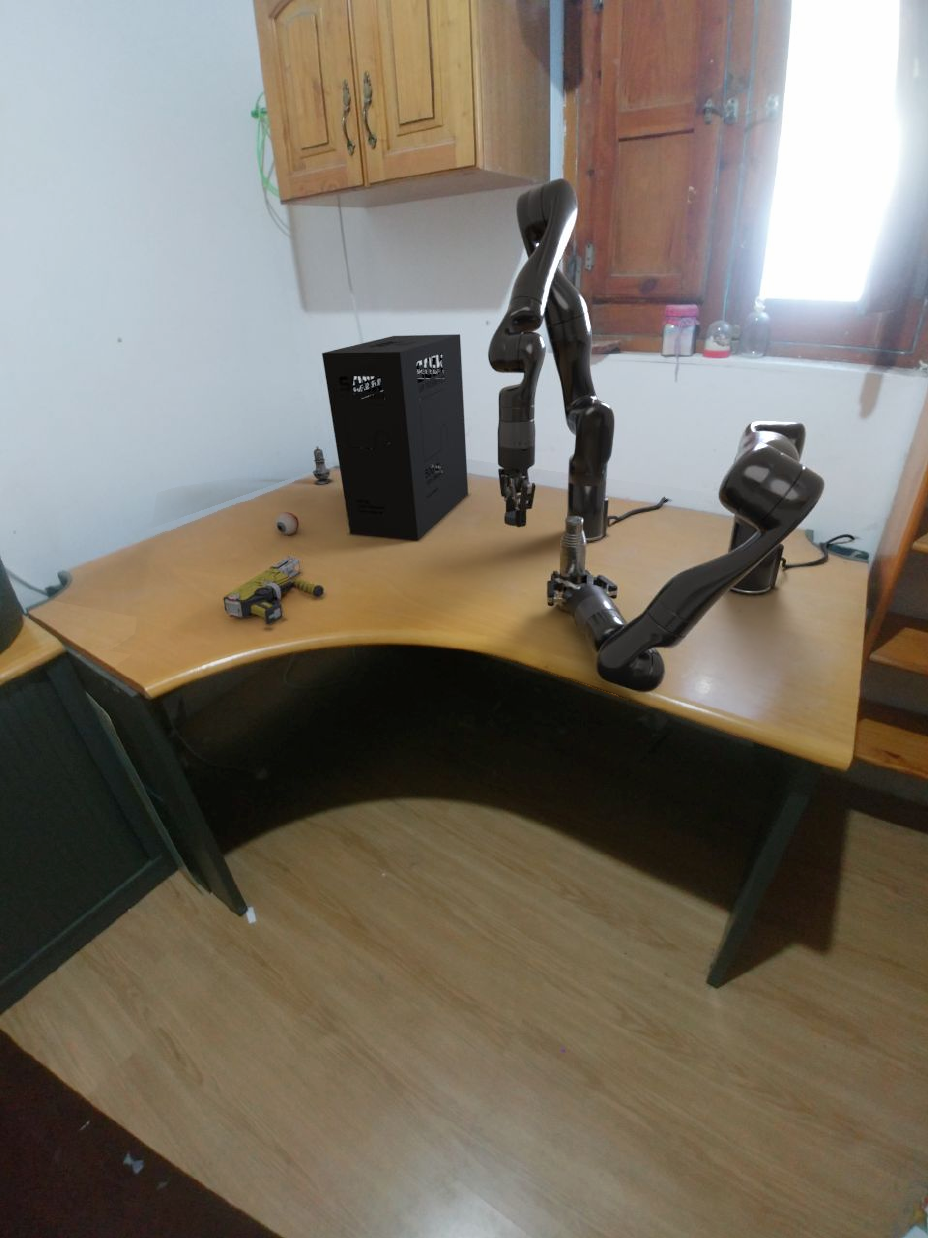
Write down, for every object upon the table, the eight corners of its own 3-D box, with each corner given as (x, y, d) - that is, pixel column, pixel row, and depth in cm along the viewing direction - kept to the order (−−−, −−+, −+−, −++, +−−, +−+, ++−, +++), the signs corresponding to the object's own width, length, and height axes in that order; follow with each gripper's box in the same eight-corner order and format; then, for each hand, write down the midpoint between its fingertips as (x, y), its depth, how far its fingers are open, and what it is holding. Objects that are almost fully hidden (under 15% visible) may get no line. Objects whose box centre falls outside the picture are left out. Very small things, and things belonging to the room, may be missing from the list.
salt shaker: (327, 484, 203) (321, 448, 197) (311, 484, 204) (305, 448, 198) (334, 479, 208) (328, 443, 202) (318, 478, 209) (312, 443, 203)
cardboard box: (408, 489, 193) (393, 335, 171) (468, 494, 187) (460, 334, 164) (350, 533, 163) (321, 353, 141) (418, 540, 156) (400, 352, 134)
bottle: (570, 614, 120) (574, 525, 110) (553, 605, 123) (555, 518, 114) (588, 606, 122) (593, 518, 113) (570, 597, 126) (573, 512, 116)
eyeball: (273, 537, 164) (268, 516, 161) (287, 528, 169) (282, 508, 166) (291, 539, 161) (286, 518, 158) (305, 530, 166) (301, 510, 163)
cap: (525, 517, 131) (525, 510, 130) (527, 525, 127) (527, 517, 126) (503, 518, 131) (503, 510, 130) (505, 526, 127) (505, 518, 126)
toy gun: (343, 565, 138) (286, 554, 142) (281, 611, 118) (217, 596, 122) (343, 584, 140) (288, 572, 144) (284, 632, 120) (221, 617, 124)
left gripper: (485, 436, 126) (487, 514, 134) (513, 452, 114) (513, 536, 122) (518, 432, 128) (518, 509, 136) (549, 447, 116) (546, 530, 125)
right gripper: (635, 590, 106) (603, 552, 121) (556, 600, 105) (533, 560, 119) (632, 627, 110) (600, 586, 125) (555, 636, 109) (533, 593, 123)
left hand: (515, 521), depth 129 cm, fingers closed on cap, 4 cm apart
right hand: (567, 573), depth 122 cm, fingers closed on bottle, 5 cm apart
